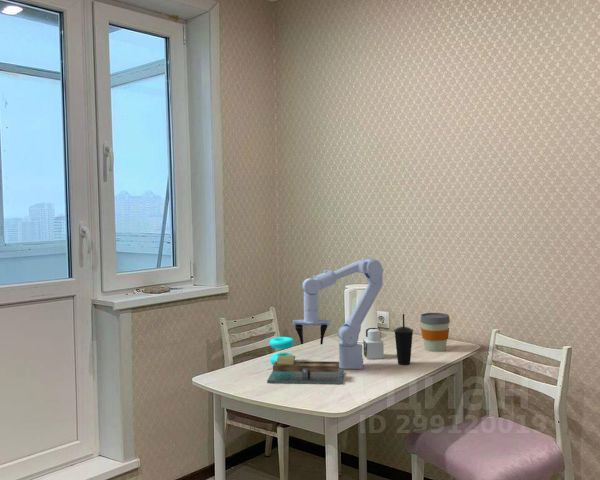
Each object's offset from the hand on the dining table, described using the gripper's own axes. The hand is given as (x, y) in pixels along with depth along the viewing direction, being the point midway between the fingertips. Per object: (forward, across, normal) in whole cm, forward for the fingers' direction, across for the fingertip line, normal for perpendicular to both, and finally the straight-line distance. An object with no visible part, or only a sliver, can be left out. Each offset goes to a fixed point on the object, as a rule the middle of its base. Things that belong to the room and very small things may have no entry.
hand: (311, 343), depth 222 cm
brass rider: (+5, -8, -12) cm, 16 cm away
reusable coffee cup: (+10, +51, +33) cm, 62 cm away
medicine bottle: (+10, +24, +19) cm, 32 cm away
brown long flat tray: (+6, -1, -12) cm, 13 cm away
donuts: (+10, -13, +8) cm, 18 cm away
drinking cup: (+10, +36, +9) cm, 38 cm away
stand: (+10, -1, -12) cm, 16 cm away
